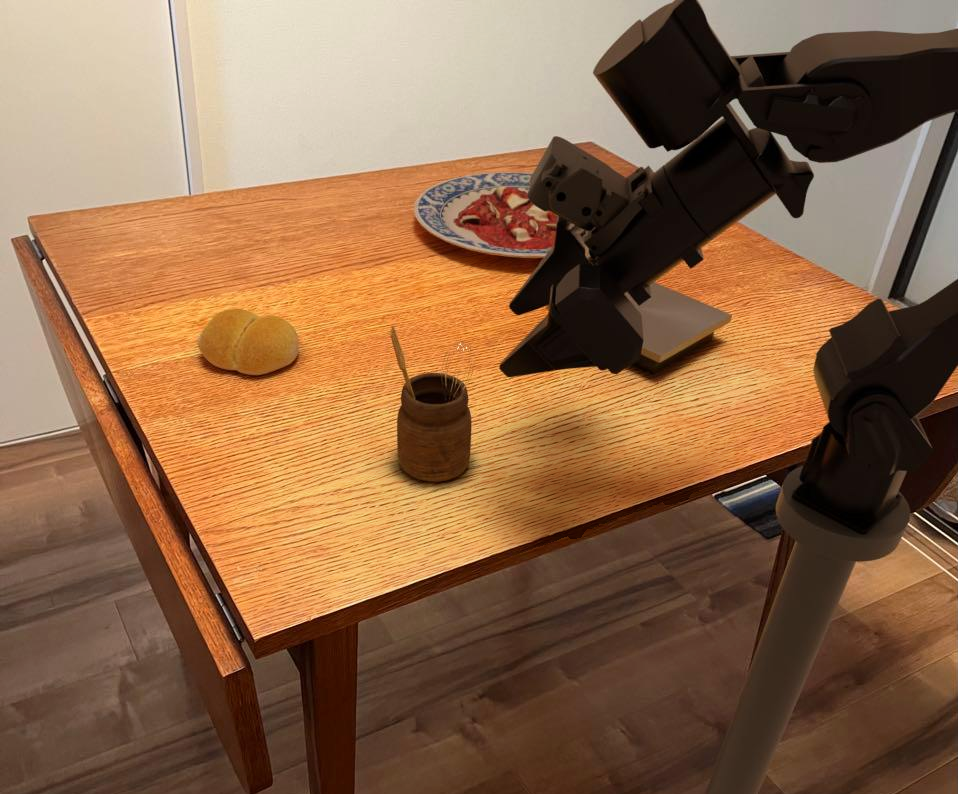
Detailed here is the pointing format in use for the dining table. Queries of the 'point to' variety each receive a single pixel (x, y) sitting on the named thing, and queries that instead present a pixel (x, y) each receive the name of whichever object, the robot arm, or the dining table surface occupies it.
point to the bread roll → (248, 342)
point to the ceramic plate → (488, 215)
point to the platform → (674, 327)
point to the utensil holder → (433, 422)
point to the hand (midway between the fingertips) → (508, 339)
